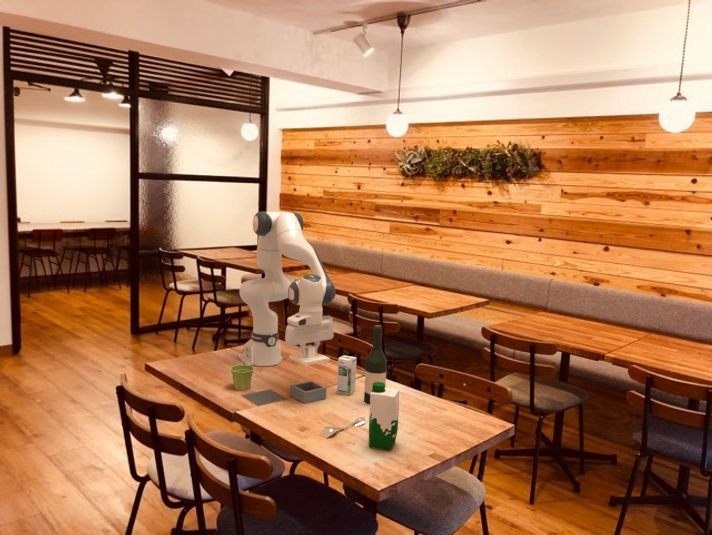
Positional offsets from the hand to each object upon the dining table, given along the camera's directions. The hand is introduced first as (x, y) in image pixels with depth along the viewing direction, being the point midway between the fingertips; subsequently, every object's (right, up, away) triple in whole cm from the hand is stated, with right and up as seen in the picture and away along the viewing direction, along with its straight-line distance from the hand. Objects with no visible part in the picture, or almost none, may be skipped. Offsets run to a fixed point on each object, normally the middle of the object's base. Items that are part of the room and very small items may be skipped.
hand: (309, 353), depth 229 cm
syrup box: (+14, -18, +12) cm, 25 cm away
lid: (0, -3, 0) cm, 3 cm away
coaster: (-17, -17, +1) cm, 25 cm away
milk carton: (+26, -25, -36) cm, 51 cm away
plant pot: (-28, -16, +10) cm, 33 cm away
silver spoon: (+14, -23, -24) cm, 36 cm away
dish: (-1, -18, +2) cm, 18 cm away
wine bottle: (+25, -19, +3) cm, 32 cm away
